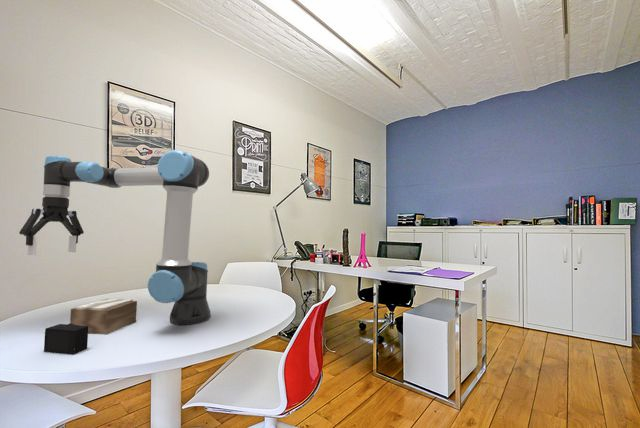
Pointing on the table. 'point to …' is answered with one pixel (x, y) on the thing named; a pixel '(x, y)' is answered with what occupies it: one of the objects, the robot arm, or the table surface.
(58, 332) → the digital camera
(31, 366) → the table surface
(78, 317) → the walnut stand
